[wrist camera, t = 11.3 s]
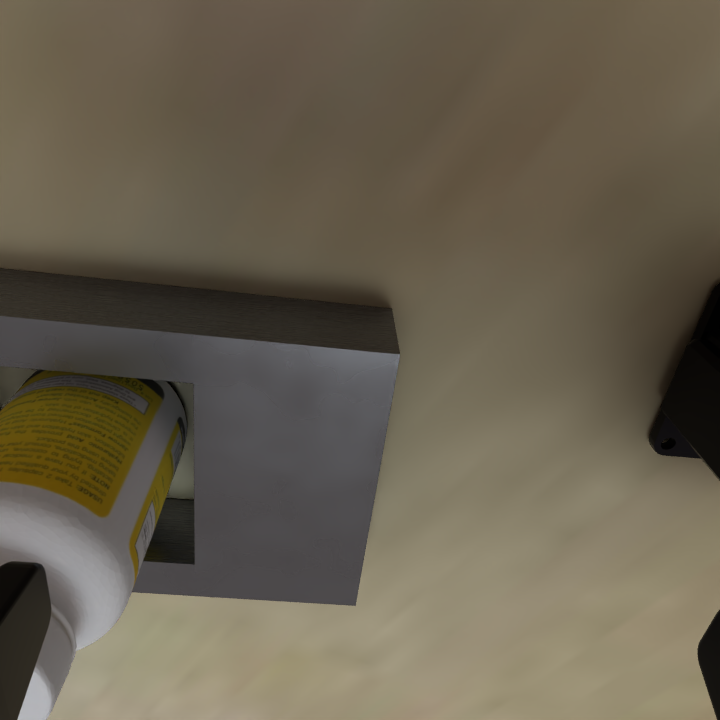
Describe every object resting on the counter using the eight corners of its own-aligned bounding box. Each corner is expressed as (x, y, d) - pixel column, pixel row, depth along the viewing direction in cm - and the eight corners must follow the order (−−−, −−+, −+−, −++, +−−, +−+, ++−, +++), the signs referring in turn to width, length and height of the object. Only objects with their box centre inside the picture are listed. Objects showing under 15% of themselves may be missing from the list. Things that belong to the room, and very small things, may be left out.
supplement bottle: (-9, 373, 20) (-269, 641, 11) (142, 323, 19) (-15, 569, 11) (80, 493, 22) (-79, 786, 14) (216, 453, 22) (138, 735, 13)
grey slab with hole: (392, 308, 19) (400, 354, 17) (353, 541, 24) (355, 605, 21) (-227, 245, 18) (-326, 284, 15) (-136, 507, 22) (-199, 572, 20)
